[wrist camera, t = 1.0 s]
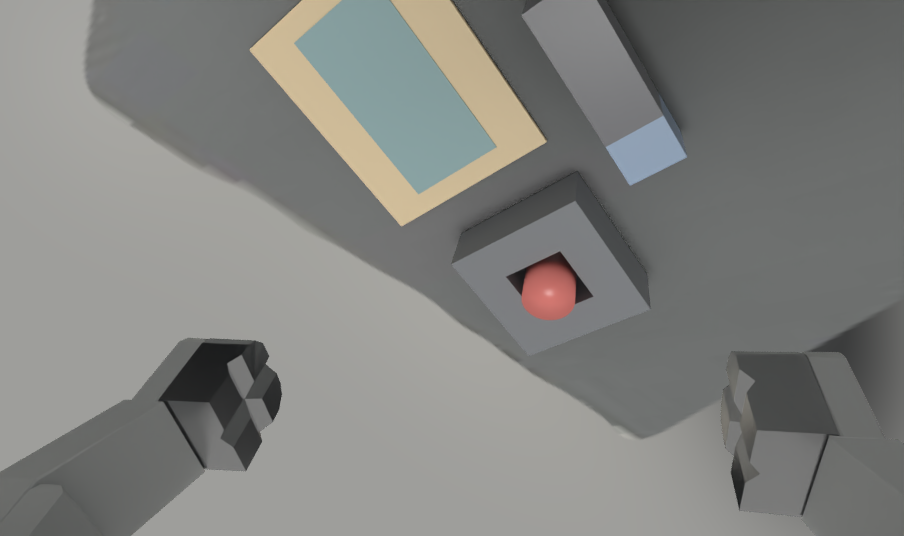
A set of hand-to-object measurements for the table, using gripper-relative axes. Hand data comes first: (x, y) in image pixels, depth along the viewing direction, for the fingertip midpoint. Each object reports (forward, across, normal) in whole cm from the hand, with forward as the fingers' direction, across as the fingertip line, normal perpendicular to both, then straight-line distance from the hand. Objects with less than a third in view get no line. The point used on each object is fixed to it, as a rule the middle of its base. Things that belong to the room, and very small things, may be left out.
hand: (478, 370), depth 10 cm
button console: (+30, +1, +18) cm, 35 cm away
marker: (+30, -3, +4) cm, 30 cm away
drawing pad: (+30, +10, +5) cm, 32 cm away
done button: (+28, +1, +18) cm, 33 cm away
